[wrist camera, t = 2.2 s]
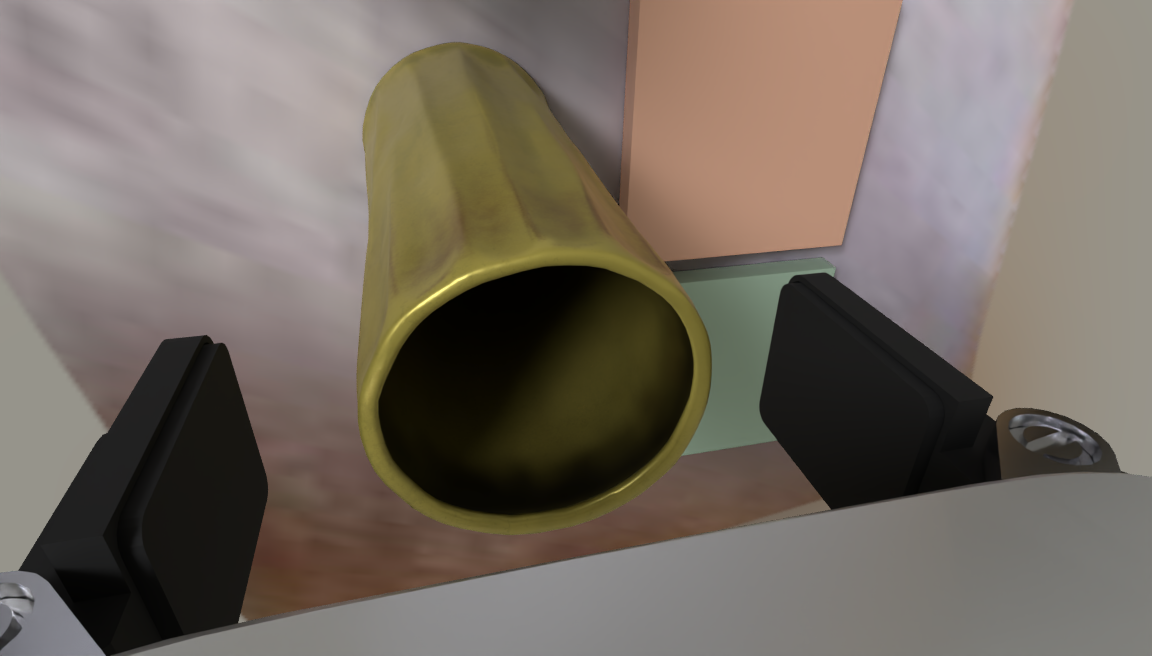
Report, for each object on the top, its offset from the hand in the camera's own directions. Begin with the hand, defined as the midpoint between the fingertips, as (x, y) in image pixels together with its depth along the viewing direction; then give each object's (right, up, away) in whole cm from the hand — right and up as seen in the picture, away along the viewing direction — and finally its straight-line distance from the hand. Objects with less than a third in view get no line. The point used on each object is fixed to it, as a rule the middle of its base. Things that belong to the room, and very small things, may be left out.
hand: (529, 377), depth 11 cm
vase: (-3, +7, +10) cm, 13 cm away
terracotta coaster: (+7, +8, +12) cm, 16 cm away
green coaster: (+7, -1, +17) cm, 19 cm away
